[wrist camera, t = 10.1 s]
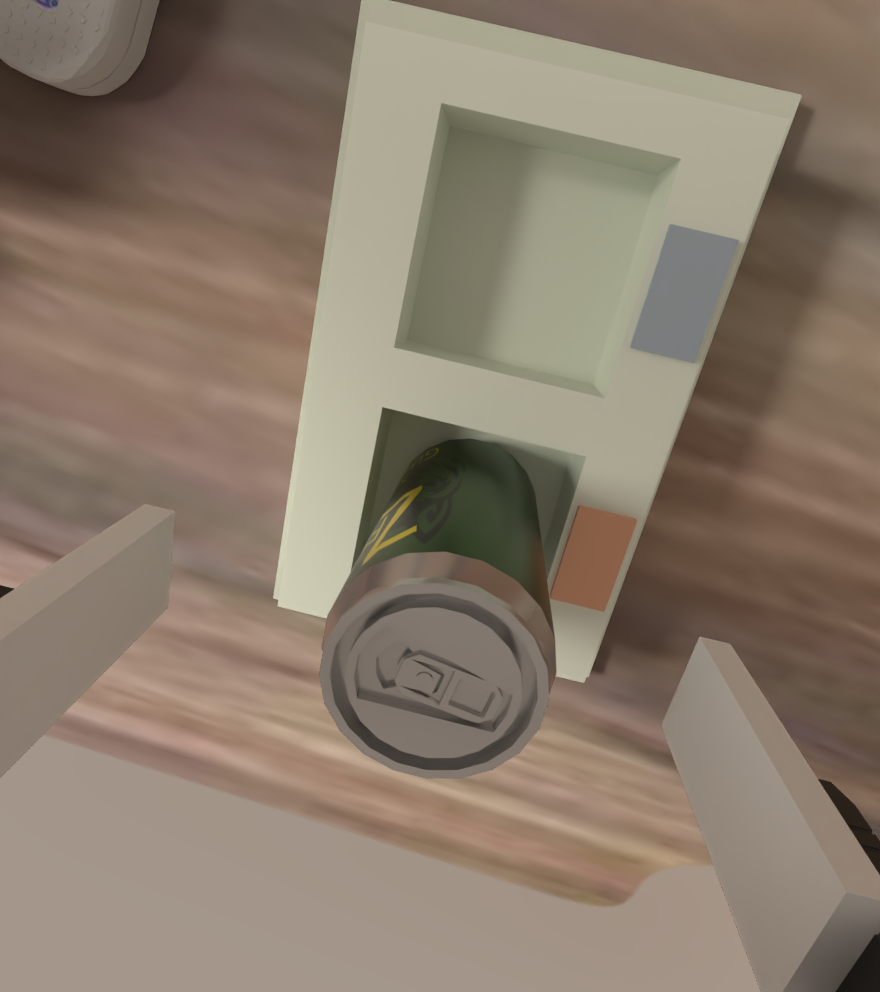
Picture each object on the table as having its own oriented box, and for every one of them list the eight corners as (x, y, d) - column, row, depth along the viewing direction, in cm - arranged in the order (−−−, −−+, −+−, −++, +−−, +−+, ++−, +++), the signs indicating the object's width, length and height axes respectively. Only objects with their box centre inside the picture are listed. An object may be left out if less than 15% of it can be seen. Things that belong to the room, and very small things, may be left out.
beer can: (558, 465, 24) (606, 632, 12) (502, 581, 25) (499, 820, 14) (428, 412, 23) (354, 531, 12) (380, 532, 25) (279, 734, 14)
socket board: (278, 591, 27) (245, 635, 24) (366, 2, 20) (337, -56, 16) (586, 669, 27) (598, 724, 24) (793, 100, 20) (854, 62, 16)
